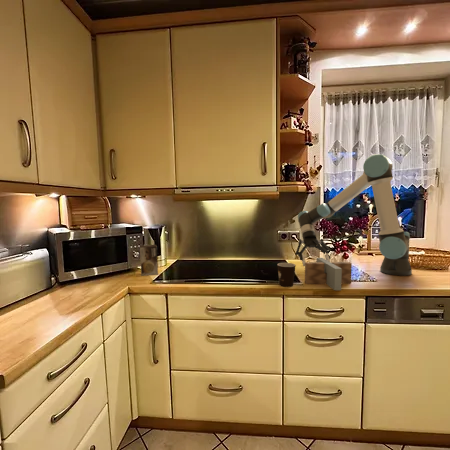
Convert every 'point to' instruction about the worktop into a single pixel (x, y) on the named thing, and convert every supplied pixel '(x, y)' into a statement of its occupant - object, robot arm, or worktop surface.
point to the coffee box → (148, 260)
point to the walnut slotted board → (317, 275)
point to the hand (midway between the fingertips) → (316, 264)
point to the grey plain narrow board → (332, 274)
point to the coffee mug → (286, 274)
